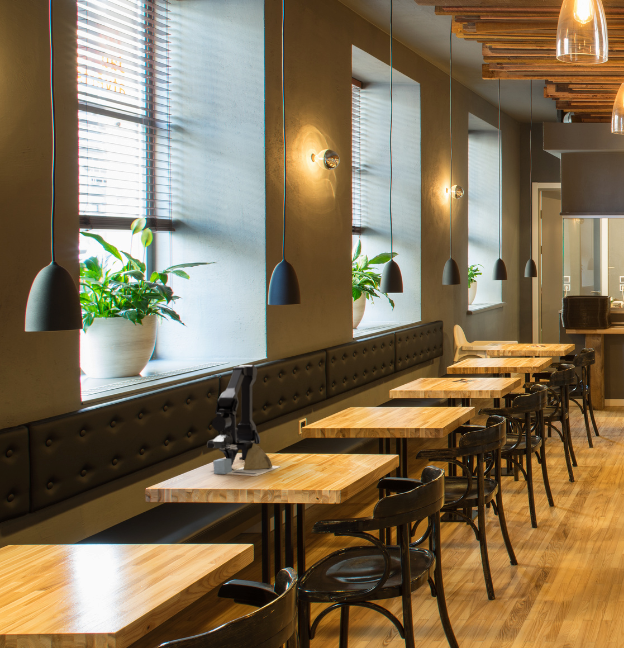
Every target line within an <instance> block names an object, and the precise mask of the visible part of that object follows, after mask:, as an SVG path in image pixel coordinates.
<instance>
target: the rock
mask: <svg viewBox="0 0 624 648" xmlns="http://www.w3.org/2000/svg"><path fill="white" fill-rule="evenodd" d="M272 466H273V464H272V461H271V459H270V457H269V456H268V455H267V453H266V452H265V451H264V450H263V449H262V448H261V446H259V444H255V443H253V446H252V448H250V449H249V450H248V453H247V456H246V459H244V465H243V467H244V469H243V470H254V469H264V468H272Z"/></svg>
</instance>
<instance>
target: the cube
mask: <svg viewBox="0 0 624 648" xmlns="http://www.w3.org/2000/svg"><path fill="white" fill-rule="evenodd" d="M232 471H233V465H232V463H231V459H226V458H218V459H214V460H213V474H215V475H226V473H229V472H232Z"/></svg>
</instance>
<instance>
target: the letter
mask: <svg viewBox="0 0 624 648" xmlns="http://www.w3.org/2000/svg"><path fill="white" fill-rule="evenodd" d="M279 468H282V466H280V465H278V466H277V465H272V468H264V469H254V470H243V469H244V466H243V467H239V468H236V469H234V470H232V472H229V473H226V474H227V475H238V476H239V475H240V476H252V477H253V476H254V477H257V476H260V475H262V474H265V473H268V472H271V471H275V470H277V469H279ZM226 474H225V475H226Z"/></svg>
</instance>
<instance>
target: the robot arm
mask: <svg viewBox="0 0 624 648" xmlns="http://www.w3.org/2000/svg"><path fill="white" fill-rule="evenodd" d="M257 375H258V369H257V367H255V365H254V364H239V366H238V365H237V366H233V368H232V374H231V377H230V380H229V382H228V385H227V387H226V389H225V390H224V391H222V392H221V394H220V396H219V398H218V399H217V403H216V406H215V412H214V414H215V415H216V416H215V417H213V419H212V422H211V426H212V428H213V429H214V430H215V431H217V432H219V435H217V436H216V437H215V438H213V439H210V440H208V441H207V443H206V446H207V447H206V448H207V449H218V451H219V452H222V453H223V454H224V456H225V457H224V458H225V459H231V463H232V466H233V465H234V462H235V459H236V458H237V457H236V456H237V454H239V451H241V456H240V457H239V458H238V459H241V460H245V459H246V456H247V453H248V450H249V449H250V448H252V446H253V443H255V444H257V445H259V444H260V443H261V437H260V435H259V433H258V430H257V426H256V423H255V422H254V420H253V385H254V384H255V382H257V381H256V380H257ZM240 390H241V391H240ZM239 392H240V393H241V394H240V395H241V397H240V402H239V397H238V393H239ZM239 404H240V410H241V412H240V421H239V423H237V417H236V415H237V410H238V407H239Z"/></svg>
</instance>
